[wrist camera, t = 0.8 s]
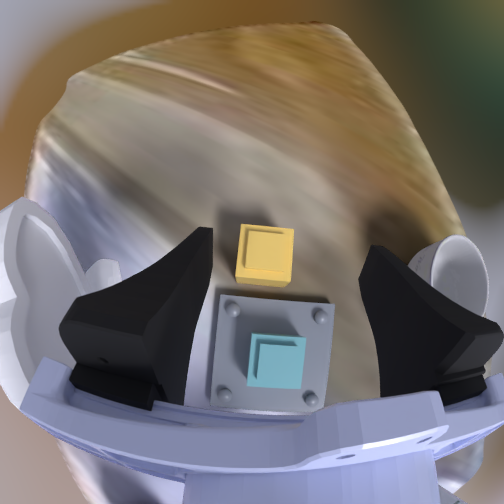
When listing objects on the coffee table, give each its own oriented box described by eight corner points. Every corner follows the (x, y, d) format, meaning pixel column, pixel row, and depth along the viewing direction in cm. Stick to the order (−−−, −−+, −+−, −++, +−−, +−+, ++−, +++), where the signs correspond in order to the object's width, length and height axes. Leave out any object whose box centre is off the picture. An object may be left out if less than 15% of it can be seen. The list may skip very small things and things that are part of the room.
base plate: (319, 408, 26) (332, 422, 21) (211, 402, 26) (205, 417, 21) (331, 304, 29) (346, 302, 24) (221, 295, 29) (216, 291, 24)
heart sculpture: (147, 375, 26) (46, 426, 9) (111, 381, 26) (3, 421, 8) (115, 245, 30) (14, 178, 12) (83, 257, 29) (-22, 206, 12)
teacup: (427, 236, 31) (464, 216, 23) (462, 300, 29) (501, 293, 21) (357, 298, 29) (391, 291, 21) (400, 368, 27) (439, 379, 19)
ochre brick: (283, 287, 29) (291, 280, 24) (236, 282, 29) (235, 275, 24) (286, 242, 30) (295, 227, 25) (241, 237, 30) (241, 221, 25)
